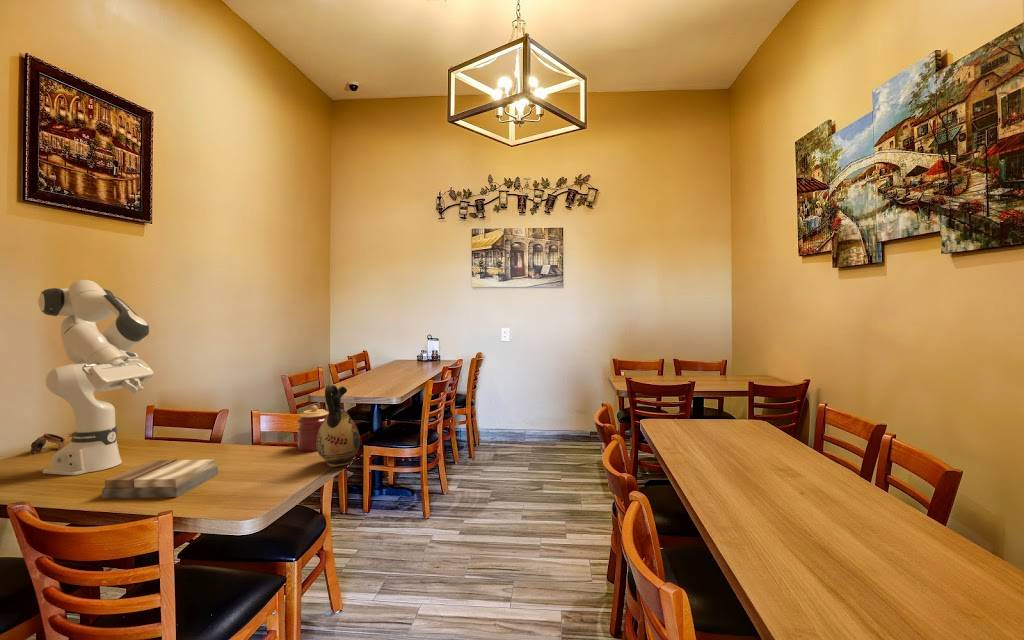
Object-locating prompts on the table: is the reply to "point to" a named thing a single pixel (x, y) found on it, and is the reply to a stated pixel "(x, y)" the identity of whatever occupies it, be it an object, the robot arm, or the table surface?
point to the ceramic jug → (337, 431)
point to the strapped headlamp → (41, 441)
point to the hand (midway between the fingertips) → (138, 391)
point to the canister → (310, 428)
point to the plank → (174, 473)
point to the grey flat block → (125, 487)
